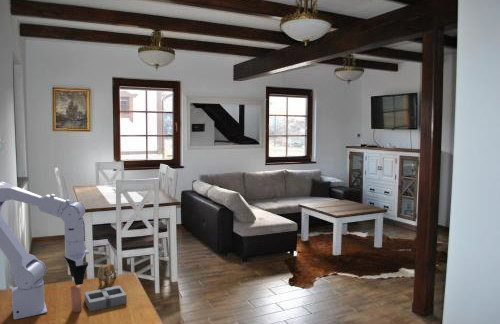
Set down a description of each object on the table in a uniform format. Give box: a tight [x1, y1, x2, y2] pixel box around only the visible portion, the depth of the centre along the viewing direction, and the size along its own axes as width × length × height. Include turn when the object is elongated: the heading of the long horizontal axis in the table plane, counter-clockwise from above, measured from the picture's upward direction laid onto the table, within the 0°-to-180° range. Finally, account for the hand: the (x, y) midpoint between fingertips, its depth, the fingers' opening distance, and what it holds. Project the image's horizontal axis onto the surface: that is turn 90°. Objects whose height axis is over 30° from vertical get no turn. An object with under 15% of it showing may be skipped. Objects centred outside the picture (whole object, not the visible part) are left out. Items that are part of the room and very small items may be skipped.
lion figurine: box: [96, 262, 117, 289], centre depth 158 cm, size 15×5×9 cm, turn 8°
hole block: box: [83, 285, 128, 312], centre depth 142 cm, size 12×9×3 cm
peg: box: [70, 284, 83, 313], centre depth 136 cm, size 3×3×8 cm
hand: (77, 280), depth 135 cm, fingers open, 7 cm apart
